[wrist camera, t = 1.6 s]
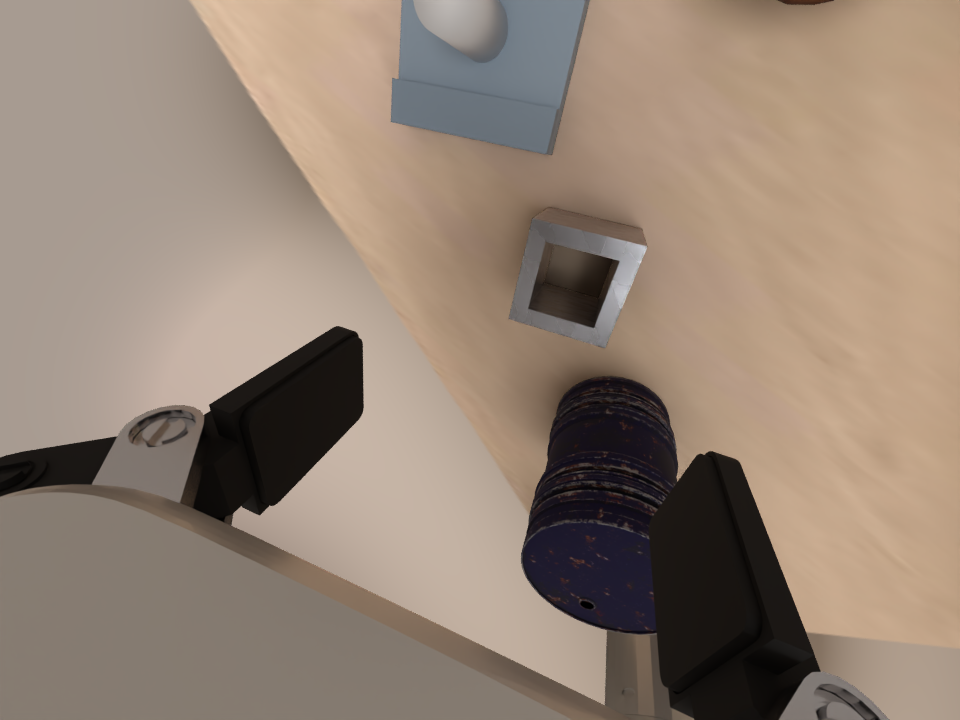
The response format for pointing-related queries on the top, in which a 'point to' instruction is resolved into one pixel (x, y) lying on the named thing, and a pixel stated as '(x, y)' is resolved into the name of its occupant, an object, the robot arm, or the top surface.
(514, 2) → the shaft block
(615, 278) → the grey hollow block
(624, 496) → the dark blue barrel
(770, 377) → the top surface
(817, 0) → the food container
